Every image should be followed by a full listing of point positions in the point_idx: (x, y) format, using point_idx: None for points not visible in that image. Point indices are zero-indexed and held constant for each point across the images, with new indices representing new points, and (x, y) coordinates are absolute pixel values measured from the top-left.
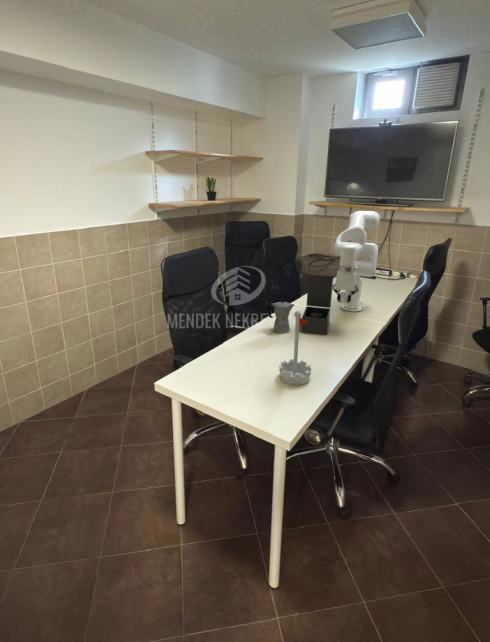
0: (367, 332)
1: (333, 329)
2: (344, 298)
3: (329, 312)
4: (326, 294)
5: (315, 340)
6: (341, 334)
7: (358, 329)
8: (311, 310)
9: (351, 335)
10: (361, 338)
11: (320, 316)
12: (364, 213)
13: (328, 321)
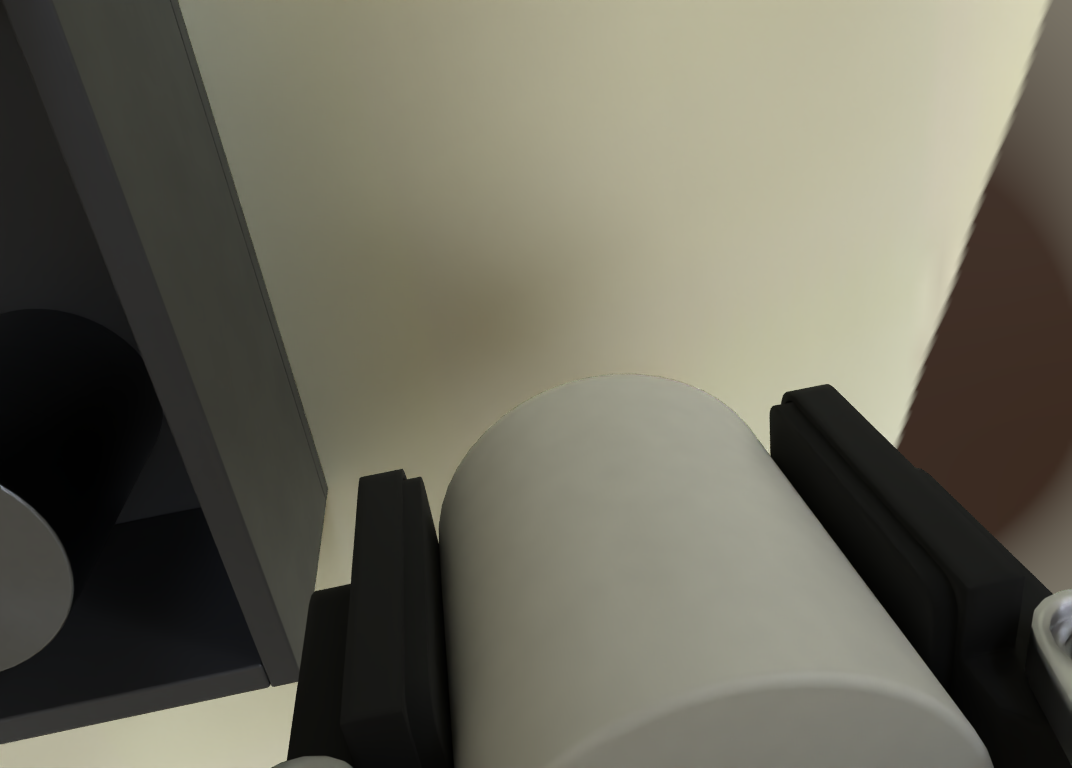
0: (928, 84)
1: (355, 233)
2: None
3: (148, 264)
4: None
5: (261, 704)
6: (533, 371)
7: (779, 10)
8: None
9: (682, 334)
10: (827, 368)
11: (77, 593)
12: None
13: (236, 336)
